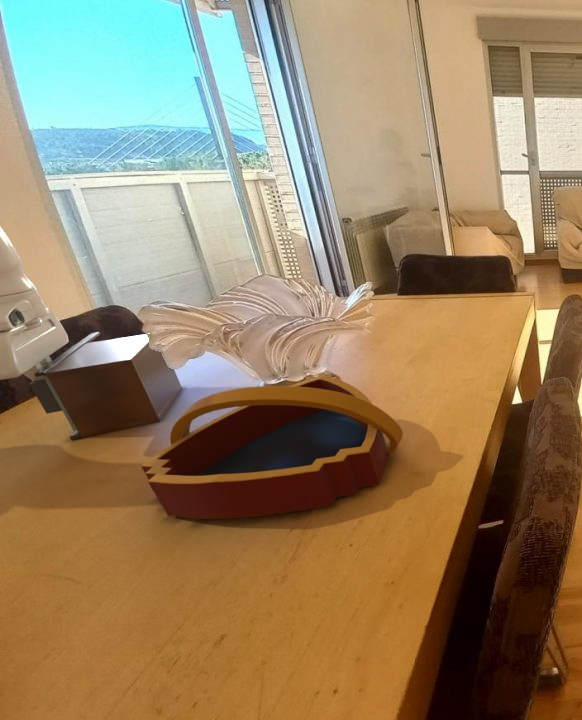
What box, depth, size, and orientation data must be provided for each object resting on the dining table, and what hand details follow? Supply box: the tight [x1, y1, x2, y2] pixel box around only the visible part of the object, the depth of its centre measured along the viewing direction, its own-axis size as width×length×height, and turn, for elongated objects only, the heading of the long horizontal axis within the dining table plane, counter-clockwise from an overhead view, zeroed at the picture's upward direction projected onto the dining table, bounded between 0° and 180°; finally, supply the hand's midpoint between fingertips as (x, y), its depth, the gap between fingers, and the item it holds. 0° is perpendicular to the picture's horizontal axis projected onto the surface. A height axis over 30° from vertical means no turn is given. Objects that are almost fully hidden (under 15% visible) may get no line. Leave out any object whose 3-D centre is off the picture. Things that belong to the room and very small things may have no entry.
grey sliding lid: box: [29, 375, 77, 432], centre depth 90 cm, size 3×16×11 cm, turn 30°
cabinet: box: [34, 331, 183, 441], centre depth 95 cm, size 12×25×13 cm, turn 30°
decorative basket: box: [140, 374, 404, 520], centre depth 73 cm, size 34×29×15 cm
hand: (46, 384), depth 85 cm, fingers closed
